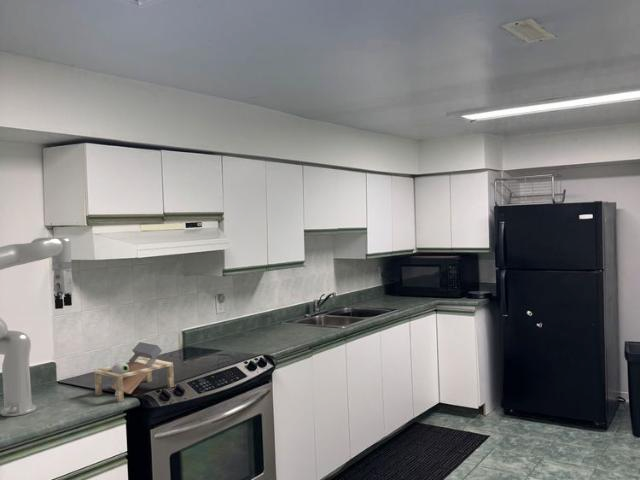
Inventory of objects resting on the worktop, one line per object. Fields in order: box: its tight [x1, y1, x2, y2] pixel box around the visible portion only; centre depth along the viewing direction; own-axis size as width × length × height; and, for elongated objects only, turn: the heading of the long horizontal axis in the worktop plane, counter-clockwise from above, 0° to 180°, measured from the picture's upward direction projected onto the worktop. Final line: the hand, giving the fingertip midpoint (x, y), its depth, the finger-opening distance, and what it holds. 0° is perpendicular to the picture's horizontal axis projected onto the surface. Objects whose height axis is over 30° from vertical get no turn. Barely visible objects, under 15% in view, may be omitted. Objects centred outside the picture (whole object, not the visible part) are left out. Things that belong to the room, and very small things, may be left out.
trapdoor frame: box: [93, 357, 175, 403], centre depth 254 cm, size 26×19×10 cm
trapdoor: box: [110, 341, 163, 395], centre depth 254 cm, size 22×14×6 cm
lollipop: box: [111, 361, 130, 397], centre depth 251 cm, size 7×7×15 cm
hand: (63, 307), depth 249 cm, fingers open, 9 cm apart
